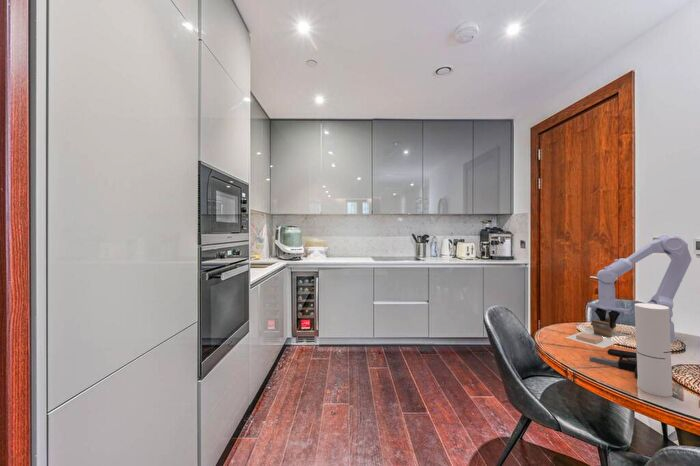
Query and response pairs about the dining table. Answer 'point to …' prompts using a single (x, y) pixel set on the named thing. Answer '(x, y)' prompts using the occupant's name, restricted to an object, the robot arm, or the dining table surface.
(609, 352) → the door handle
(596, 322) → the pusher
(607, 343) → the mat
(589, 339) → the tile
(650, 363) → the cylindrical container
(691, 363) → the dining table surface
